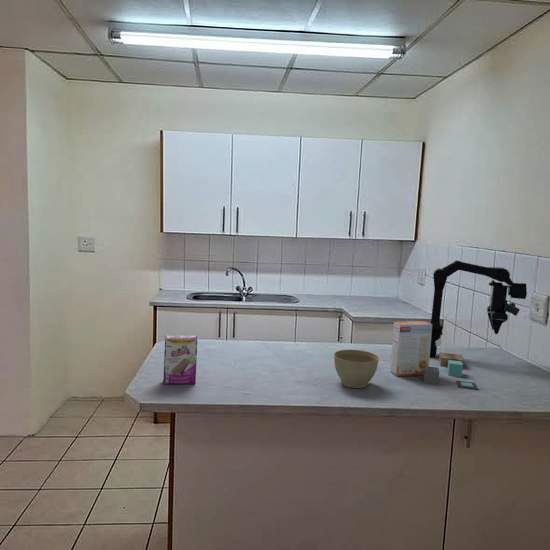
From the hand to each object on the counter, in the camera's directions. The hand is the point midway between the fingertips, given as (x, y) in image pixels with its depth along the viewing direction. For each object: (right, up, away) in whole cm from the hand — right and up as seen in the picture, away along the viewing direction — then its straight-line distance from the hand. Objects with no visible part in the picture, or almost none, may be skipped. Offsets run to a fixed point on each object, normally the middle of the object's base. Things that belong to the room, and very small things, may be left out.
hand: (494, 331), depth 218 cm
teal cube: (-24, -15, -17) cm, 33 cm away
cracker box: (-43, -15, -20) cm, 49 cm away
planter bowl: (-67, -15, -36) cm, 78 cm away
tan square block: (-21, -14, -3) cm, 25 cm away
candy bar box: (-130, -13, -44) cm, 137 cm away
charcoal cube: (-37, -16, -27) cm, 48 cm away
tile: (-24, -17, -30) cm, 42 cm away
